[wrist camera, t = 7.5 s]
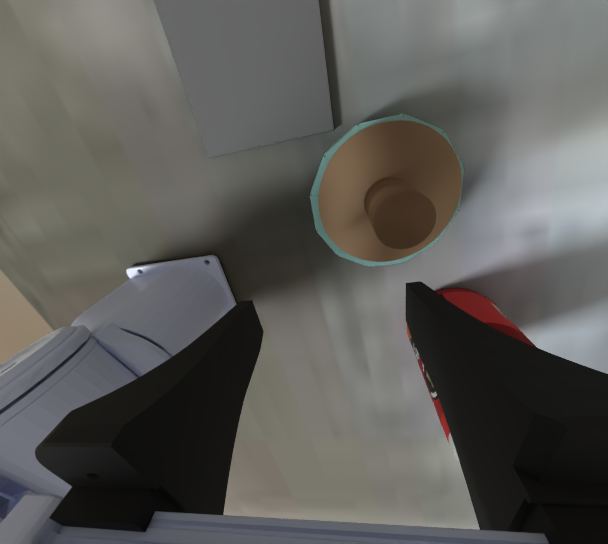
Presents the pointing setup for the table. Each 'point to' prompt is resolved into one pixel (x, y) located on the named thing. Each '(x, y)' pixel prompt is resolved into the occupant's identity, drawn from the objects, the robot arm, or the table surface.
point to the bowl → (316, 186)
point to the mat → (250, 69)
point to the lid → (389, 190)
